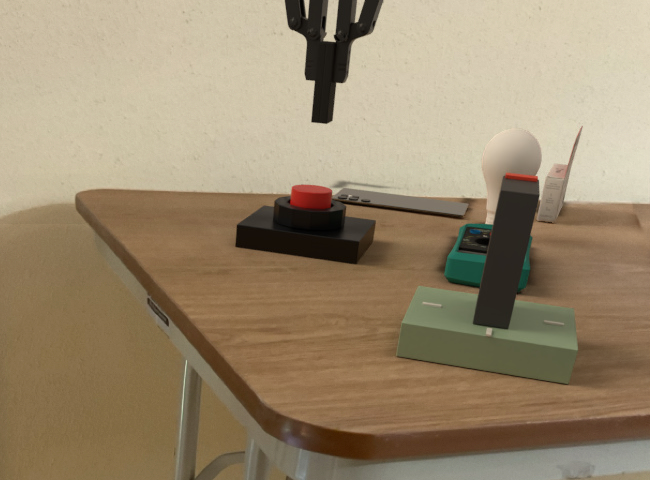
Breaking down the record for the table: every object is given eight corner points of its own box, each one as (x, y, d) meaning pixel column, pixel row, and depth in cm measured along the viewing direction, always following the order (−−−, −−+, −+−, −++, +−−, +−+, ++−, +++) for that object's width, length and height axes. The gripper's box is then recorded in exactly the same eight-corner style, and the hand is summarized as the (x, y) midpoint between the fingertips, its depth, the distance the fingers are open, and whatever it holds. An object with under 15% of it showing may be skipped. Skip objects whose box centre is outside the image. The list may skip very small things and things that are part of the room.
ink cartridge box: (535, 221, 106) (555, 132, 101) (543, 205, 115) (563, 123, 110) (556, 224, 105) (578, 135, 100) (563, 208, 114) (583, 125, 109)
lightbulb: (489, 245, 94) (513, 132, 88) (455, 231, 99) (476, 123, 93) (534, 243, 96) (560, 133, 90) (499, 229, 101) (522, 124, 95)
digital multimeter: (527, 257, 91) (534, 228, 89) (524, 296, 78) (532, 262, 77) (456, 248, 92) (461, 218, 91) (441, 284, 80) (447, 251, 78)
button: (334, 206, 88) (336, 187, 87) (325, 214, 85) (328, 194, 84) (295, 201, 89) (296, 182, 88) (285, 208, 86) (287, 189, 85)
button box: (373, 242, 92) (378, 201, 90) (356, 265, 83) (362, 221, 81) (262, 226, 94) (265, 187, 92) (235, 247, 86) (237, 204, 84)
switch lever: (508, 329, 62) (540, 190, 57) (472, 323, 62) (501, 185, 58) (510, 305, 67) (540, 176, 62) (476, 300, 67) (503, 171, 62)
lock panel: (565, 339, 69) (574, 305, 68) (568, 385, 61) (579, 348, 59) (413, 315, 71) (418, 283, 70) (395, 356, 63) (401, 320, 62)
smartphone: (463, 215, 104) (331, 195, 107) (462, 220, 104) (330, 200, 107) (468, 203, 110) (343, 185, 113) (467, 208, 110) (343, 189, 114)
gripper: (439, -194, 72) (396, 124, 84) (284, -197, 75) (265, 111, 87) (429, -213, 66) (384, 133, 78) (261, -216, 68) (244, 119, 81)
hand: (322, 121), depth 83 cm, fingers closed
